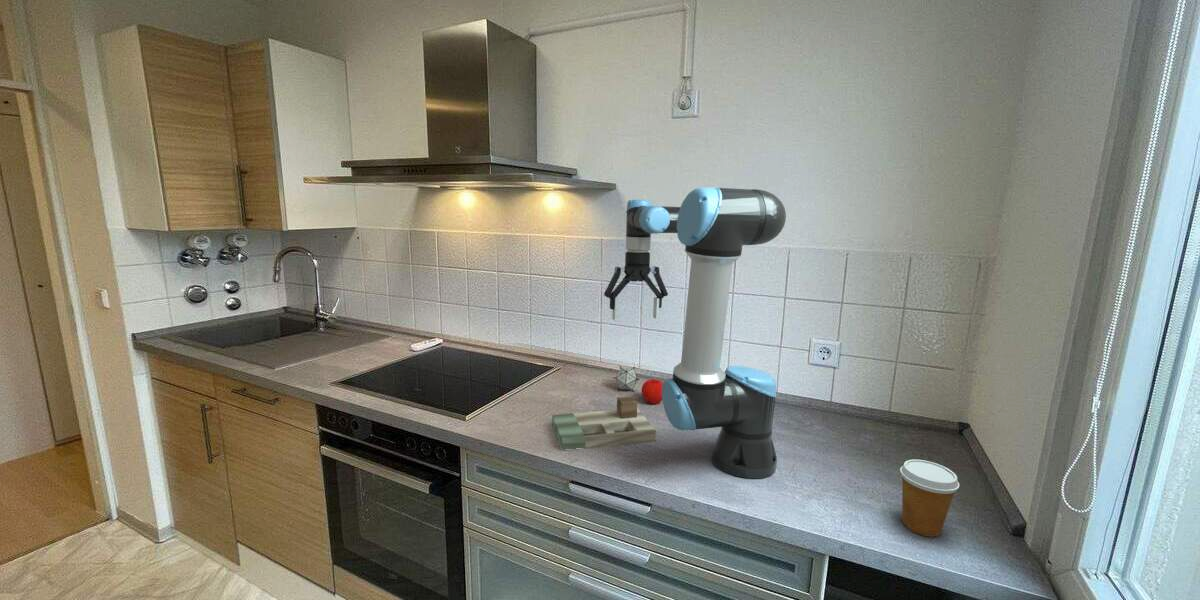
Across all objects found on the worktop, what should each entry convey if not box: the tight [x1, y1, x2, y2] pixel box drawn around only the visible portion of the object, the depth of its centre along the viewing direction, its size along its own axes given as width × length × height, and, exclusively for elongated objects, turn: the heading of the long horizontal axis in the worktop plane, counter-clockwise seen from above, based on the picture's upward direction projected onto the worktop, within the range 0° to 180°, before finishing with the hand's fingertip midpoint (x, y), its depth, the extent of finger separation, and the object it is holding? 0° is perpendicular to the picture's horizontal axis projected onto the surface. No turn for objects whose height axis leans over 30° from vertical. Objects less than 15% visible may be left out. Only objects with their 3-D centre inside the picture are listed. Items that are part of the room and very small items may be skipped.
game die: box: [613, 365, 640, 393], centre depth 164 cm, size 9×8×10 cm
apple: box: [641, 378, 664, 405], centre depth 154 cm, size 8×8×7 cm
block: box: [616, 395, 638, 419], centre depth 137 cm, size 4×4×4 cm
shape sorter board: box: [551, 408, 657, 451], centre depth 132 cm, size 15×25×3 cm, turn 105°
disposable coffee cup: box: [899, 459, 960, 538], centre depth 95 cm, size 10×10×12 cm
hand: (635, 319), depth 153 cm, fingers open, 13 cm apart
